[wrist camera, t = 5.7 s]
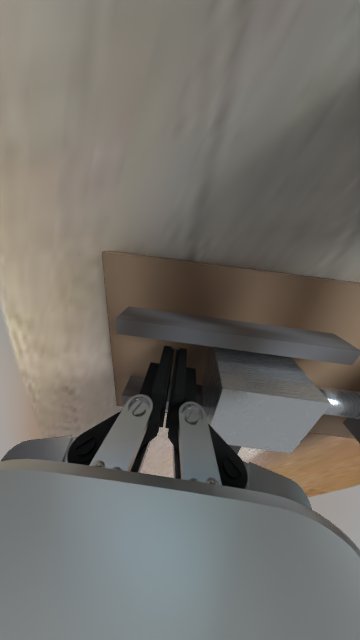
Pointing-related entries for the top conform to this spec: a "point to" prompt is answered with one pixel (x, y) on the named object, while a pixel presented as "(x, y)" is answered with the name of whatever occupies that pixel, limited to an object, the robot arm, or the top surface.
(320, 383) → the bench
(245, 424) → the grey block with rod
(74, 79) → the top surface
